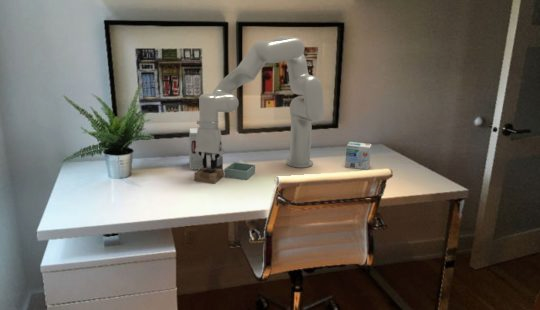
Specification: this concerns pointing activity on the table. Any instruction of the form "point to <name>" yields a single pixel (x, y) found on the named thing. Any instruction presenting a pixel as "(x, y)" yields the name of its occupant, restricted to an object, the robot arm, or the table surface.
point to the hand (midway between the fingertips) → (209, 167)
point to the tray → (240, 170)
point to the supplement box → (194, 157)
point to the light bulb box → (358, 155)
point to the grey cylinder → (220, 162)
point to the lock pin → (208, 163)
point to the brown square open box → (209, 175)
